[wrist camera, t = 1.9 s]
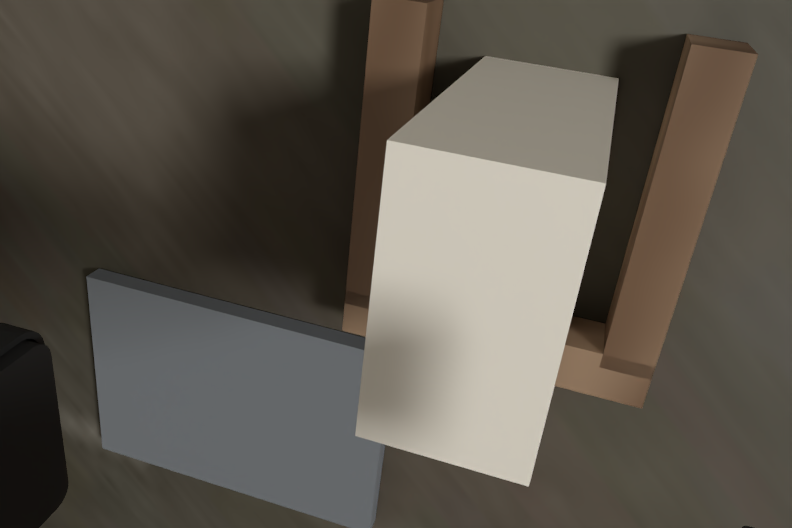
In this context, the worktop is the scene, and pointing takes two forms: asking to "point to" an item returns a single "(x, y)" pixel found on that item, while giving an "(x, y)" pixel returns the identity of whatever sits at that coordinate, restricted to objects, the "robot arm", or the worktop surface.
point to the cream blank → (483, 262)
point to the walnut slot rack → (655, 219)
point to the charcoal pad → (233, 397)
